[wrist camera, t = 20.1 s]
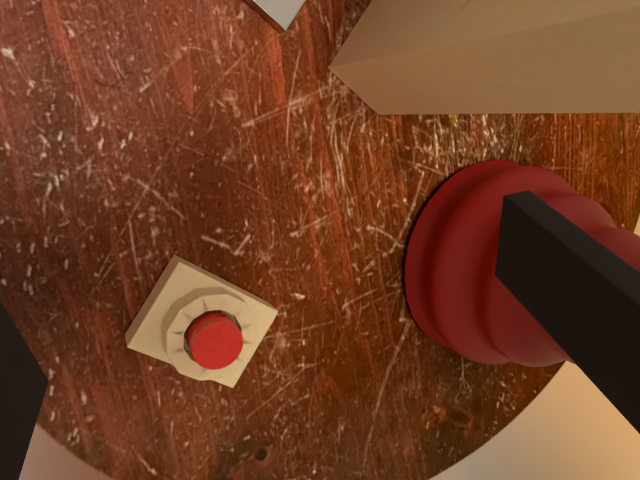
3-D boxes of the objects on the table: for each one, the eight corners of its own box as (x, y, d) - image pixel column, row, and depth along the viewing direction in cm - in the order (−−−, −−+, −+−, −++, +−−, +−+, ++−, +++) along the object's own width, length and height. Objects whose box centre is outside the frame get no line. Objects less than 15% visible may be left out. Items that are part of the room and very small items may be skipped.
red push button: (177, 348, 35) (181, 359, 33) (203, 304, 35) (209, 313, 33) (220, 366, 36) (226, 377, 35) (245, 323, 36) (252, 333, 35)
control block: (124, 335, 36) (129, 358, 33) (173, 254, 37) (184, 268, 33) (225, 375, 41) (239, 399, 37) (269, 302, 41) (287, 320, 38)
